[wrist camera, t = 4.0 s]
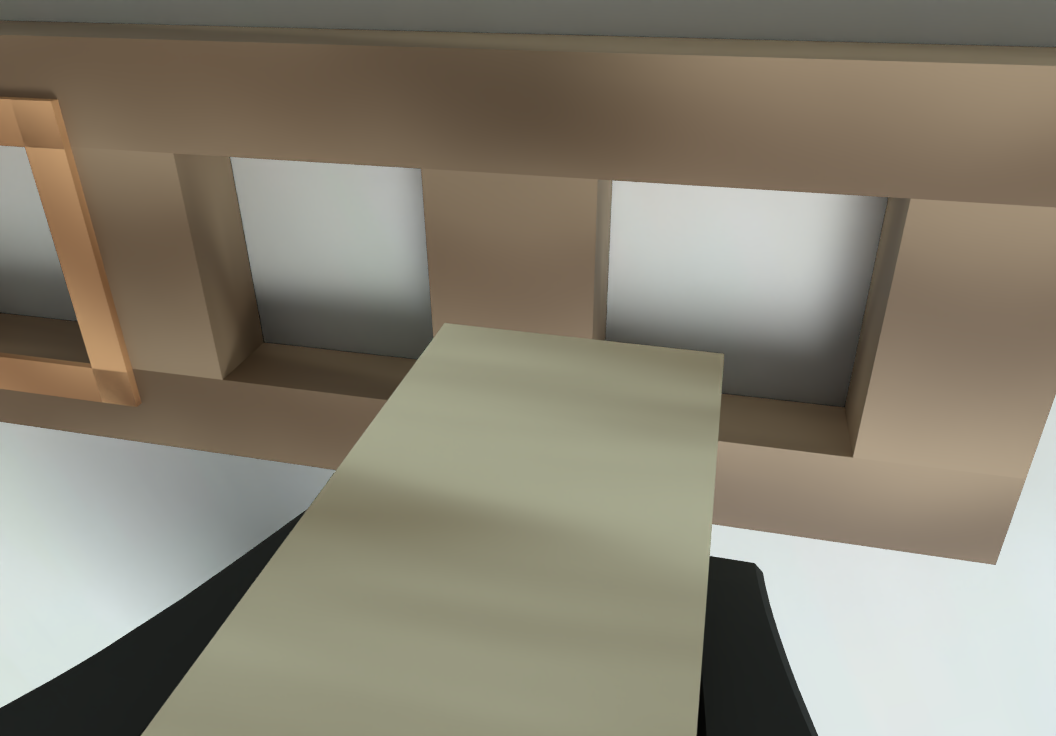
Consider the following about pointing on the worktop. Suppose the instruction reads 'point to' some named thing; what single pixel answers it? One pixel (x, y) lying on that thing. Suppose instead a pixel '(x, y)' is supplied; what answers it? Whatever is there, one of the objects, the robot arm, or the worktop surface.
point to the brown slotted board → (550, 238)
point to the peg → (489, 557)
